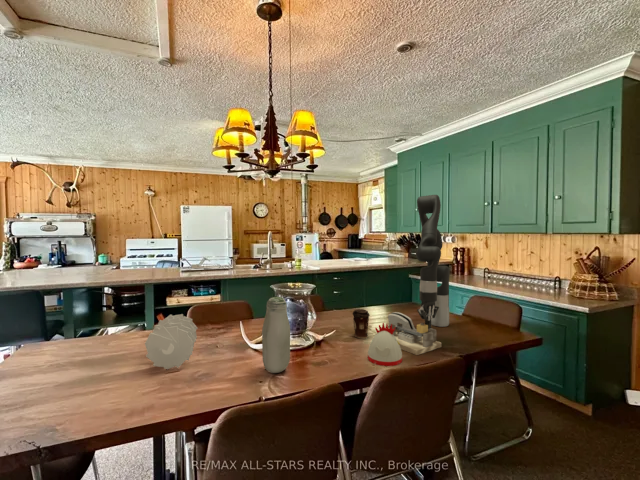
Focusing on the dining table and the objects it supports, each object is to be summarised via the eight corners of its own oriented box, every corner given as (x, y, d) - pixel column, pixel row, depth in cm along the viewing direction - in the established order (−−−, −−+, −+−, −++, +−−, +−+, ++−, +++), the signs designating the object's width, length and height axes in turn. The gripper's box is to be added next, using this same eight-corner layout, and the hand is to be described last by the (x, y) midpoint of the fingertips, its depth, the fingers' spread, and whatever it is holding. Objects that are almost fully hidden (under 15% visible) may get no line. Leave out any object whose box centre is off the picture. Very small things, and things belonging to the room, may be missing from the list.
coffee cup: (350, 337, 160) (350, 311, 159) (354, 333, 167) (354, 308, 167) (367, 340, 156) (367, 313, 156) (371, 335, 164) (371, 309, 164)
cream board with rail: (403, 334, 165) (403, 319, 165) (441, 346, 147) (441, 330, 147) (379, 340, 155) (379, 325, 155) (416, 355, 137) (417, 337, 137)
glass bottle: (278, 379, 115) (278, 301, 114) (257, 372, 120) (256, 297, 120) (295, 369, 123) (295, 296, 123) (274, 363, 129) (274, 293, 128)
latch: (422, 330, 148) (422, 321, 148) (427, 331, 145) (428, 323, 145) (416, 331, 145) (416, 323, 145) (422, 333, 143) (422, 324, 143)
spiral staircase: (187, 358, 145) (180, 379, 121) (147, 344, 140) (132, 364, 116) (205, 319, 147) (203, 333, 123) (167, 305, 143) (156, 316, 119)
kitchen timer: (400, 368, 124) (400, 329, 124) (364, 363, 129) (364, 325, 129) (403, 355, 138) (403, 320, 137) (371, 351, 142) (371, 317, 142)
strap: (397, 327, 159) (397, 324, 159) (426, 335, 145) (426, 333, 145) (393, 328, 157) (393, 325, 157) (421, 337, 143) (421, 334, 143)
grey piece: (418, 332, 168) (413, 315, 166) (411, 336, 166) (406, 319, 164) (396, 324, 183) (391, 308, 181) (390, 328, 181) (385, 312, 179)
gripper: (430, 287, 154) (430, 323, 154) (412, 290, 146) (411, 328, 147) (444, 289, 148) (444, 327, 148) (426, 293, 140) (425, 332, 140)
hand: (428, 328), depth 147 cm, fingers closed
